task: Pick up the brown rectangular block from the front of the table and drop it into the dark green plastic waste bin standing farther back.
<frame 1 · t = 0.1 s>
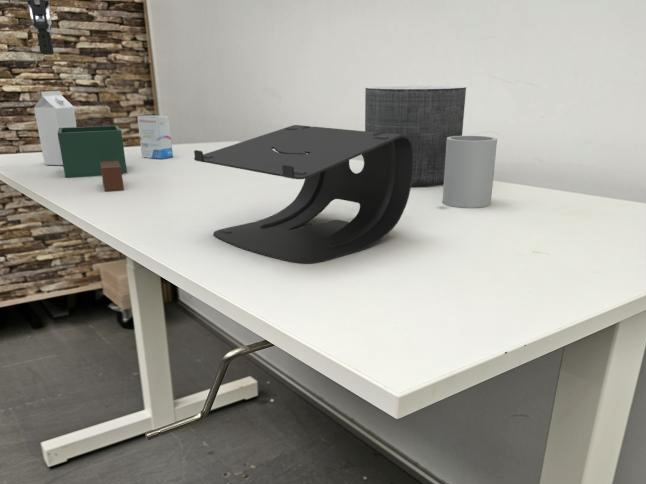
hand: (47, 54, 123), 27 cm above the table, tool pointing down, fingers open, 8 cm apart
cup: (466, 203, 117), on the table
laptop stand: (304, 237, 96), on the table
planter: (411, 179, 142), on the table
milk carton: (64, 164, 170), on the table
ink box: (157, 158, 180), on the table
brown rectangular block: (113, 186, 136), on the table
bin: (95, 171, 157), on the table
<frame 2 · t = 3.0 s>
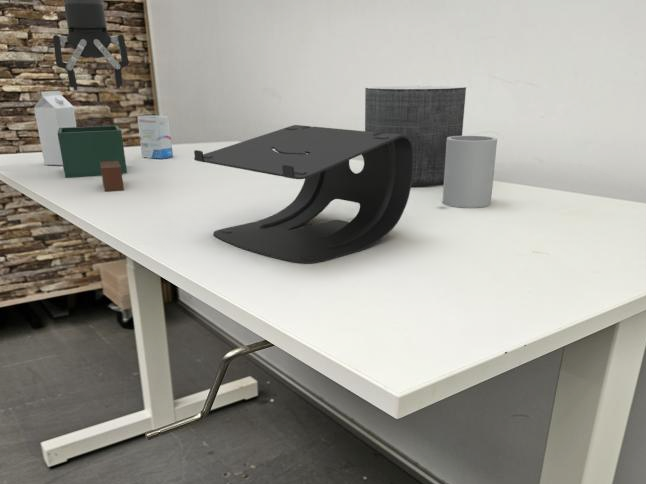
hand: (97, 89, 128), 21 cm above the table, tool pointing down, fingers open, 8 cm apart
nothing on the table moved.
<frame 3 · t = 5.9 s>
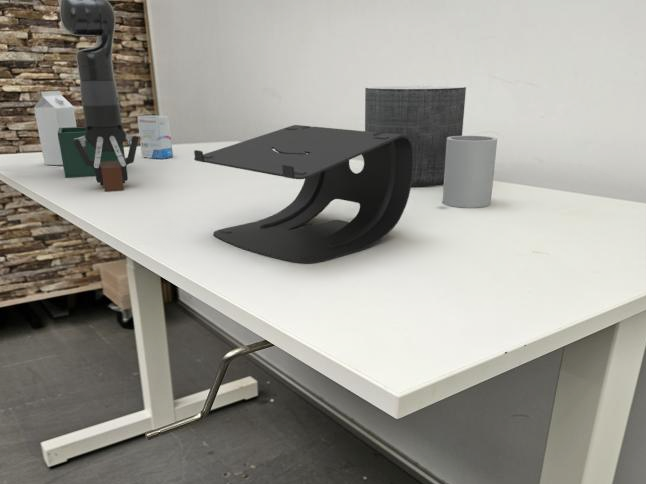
hand: (112, 183, 136), 1 cm above the table, tool pointing down, fingers closed on brown rectangular block, 4 cm apart
brown rectangular block: (113, 186, 136), on the table, touching gripper
everything else where it was.
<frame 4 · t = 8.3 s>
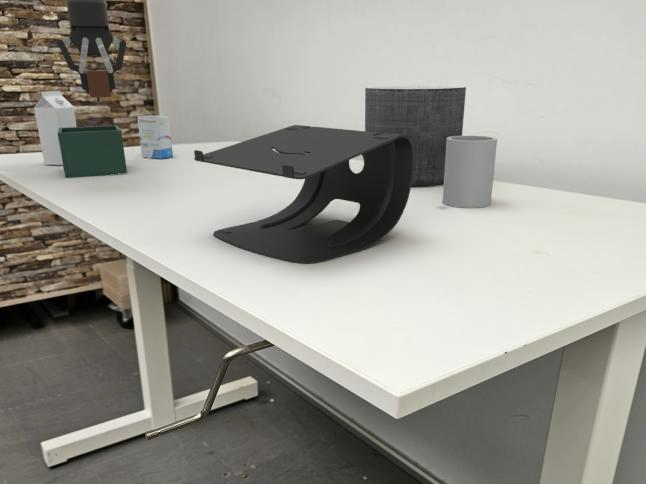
hand: (99, 92, 128), 20 cm above the table, tool pointing down, fingers closed on brown rectangular block, 4 cm apart
brown rectangular block: (99, 96, 129), point 19 cm above the table, touching gripper
everything else where it was.
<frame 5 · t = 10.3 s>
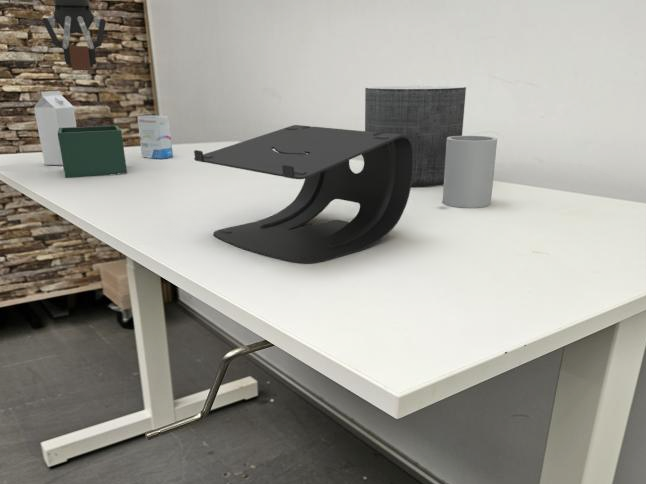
hand: (81, 66, 141), 25 cm above the table, tool pointing down, fingers closed on brown rectangular block, 4 cm apart
brown rectangular block: (82, 70, 141), point 24 cm above the table, touching gripper
everything else where it was.
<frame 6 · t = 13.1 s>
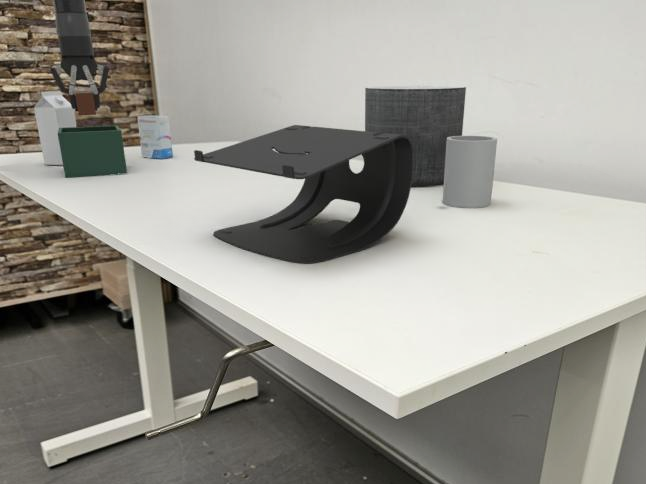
hand: (86, 110, 151), 15 cm above the table, tool pointing down, fingers closed on brown rectangular block, 4 cm apart
brown rectangular block: (86, 113, 151), point 14 cm above the table, touching gripper
everything else where it was.
when the fingers open (9 cm above the table, at t = 15.1 s): brown rectangular block drops 8 cm, resting on bin.
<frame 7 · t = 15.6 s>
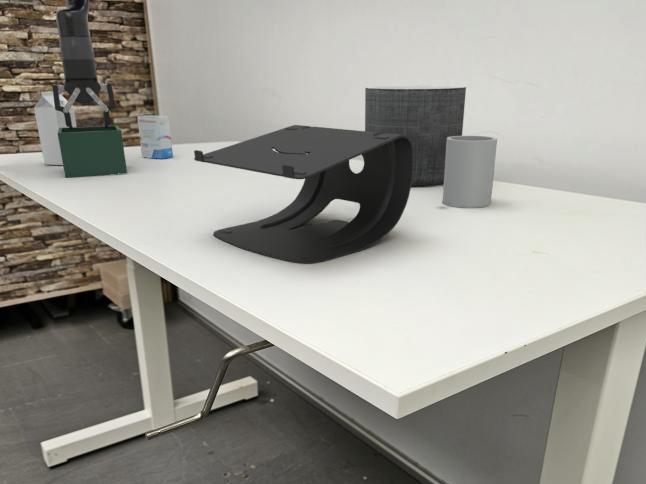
hand: (88, 128, 152), 11 cm above the table, tool pointing down, fingers open, 8 cm apart
brown rectangular block: (96, 169, 157), resting on bin
everything else where it was.
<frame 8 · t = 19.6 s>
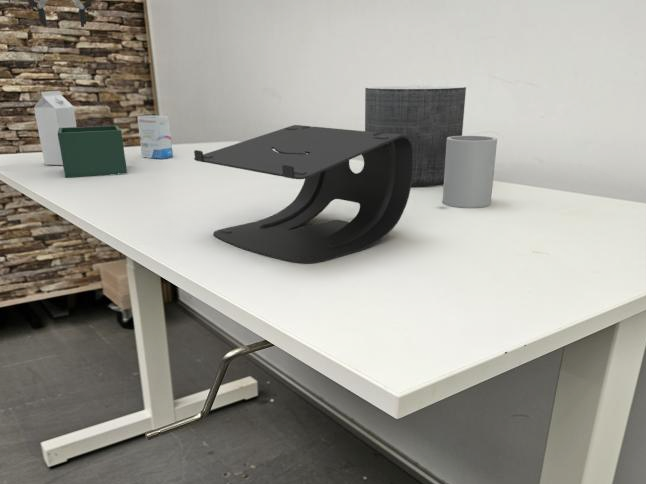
hand: (64, 26, 150), 34 cm above the table, tool pointing down, fingers open, 8 cm apart
nothing on the table moved.
at the end: brown rectangular block inside the target area in the bin (0.2 cm from its centre), point 0.5 cm above the bin's base; the gripper is holding nothing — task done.
